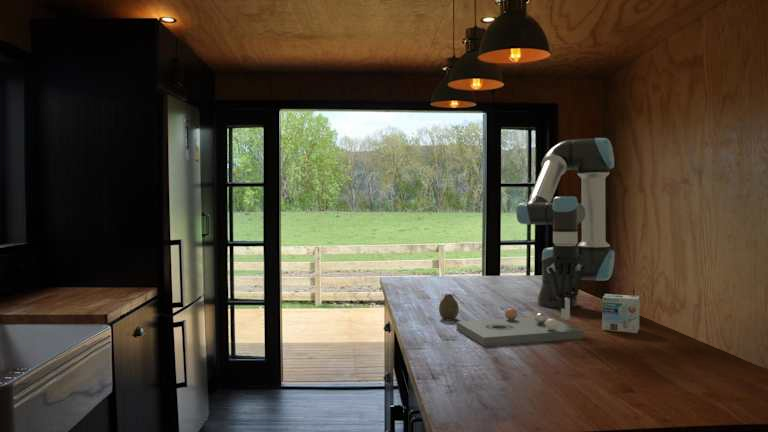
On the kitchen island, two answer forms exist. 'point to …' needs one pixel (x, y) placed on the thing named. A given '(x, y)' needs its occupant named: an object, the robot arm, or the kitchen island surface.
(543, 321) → the steel ball
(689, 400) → the kitchen island surface
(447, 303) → the vase
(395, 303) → the kitchen island surface
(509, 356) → the kitchen island surface
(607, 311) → the light bulb box
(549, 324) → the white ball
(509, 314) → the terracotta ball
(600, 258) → the robot arm
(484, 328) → the plate
